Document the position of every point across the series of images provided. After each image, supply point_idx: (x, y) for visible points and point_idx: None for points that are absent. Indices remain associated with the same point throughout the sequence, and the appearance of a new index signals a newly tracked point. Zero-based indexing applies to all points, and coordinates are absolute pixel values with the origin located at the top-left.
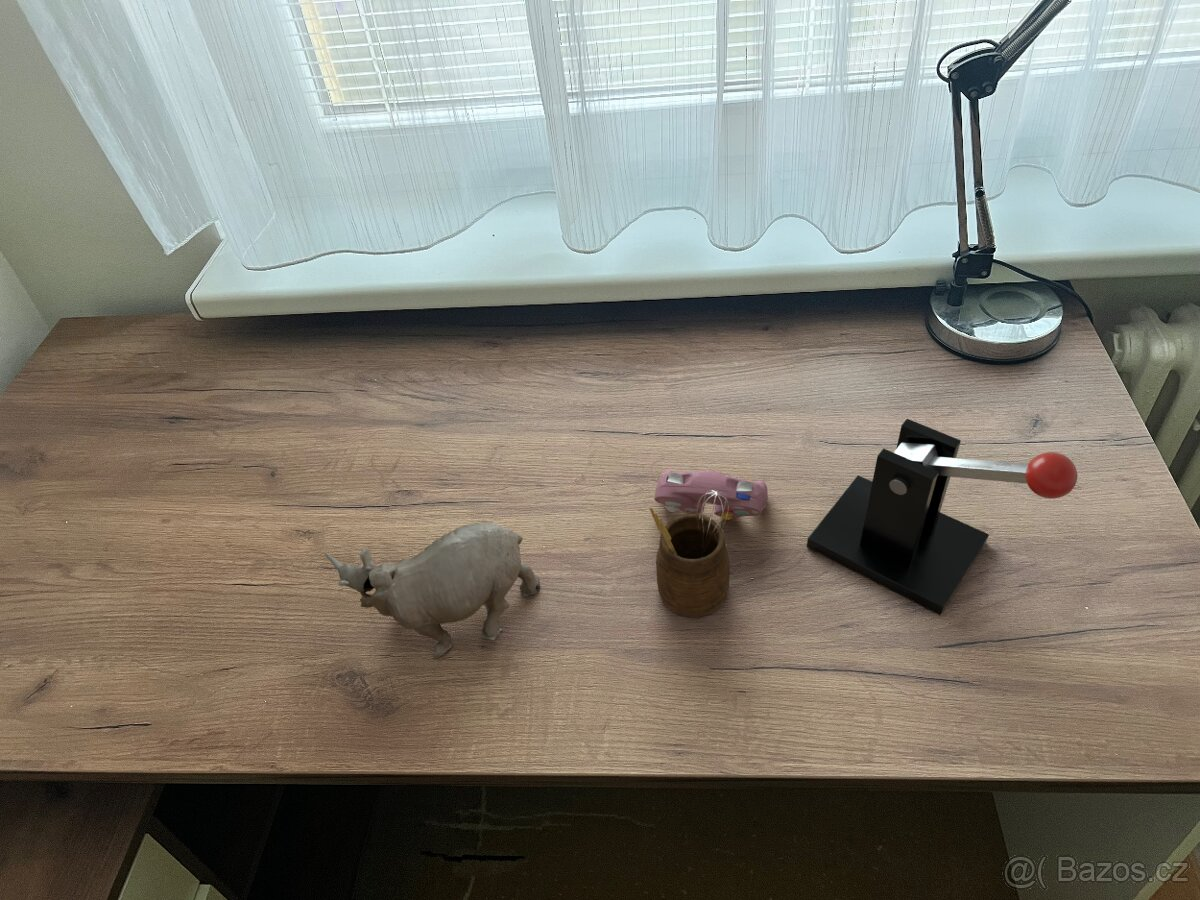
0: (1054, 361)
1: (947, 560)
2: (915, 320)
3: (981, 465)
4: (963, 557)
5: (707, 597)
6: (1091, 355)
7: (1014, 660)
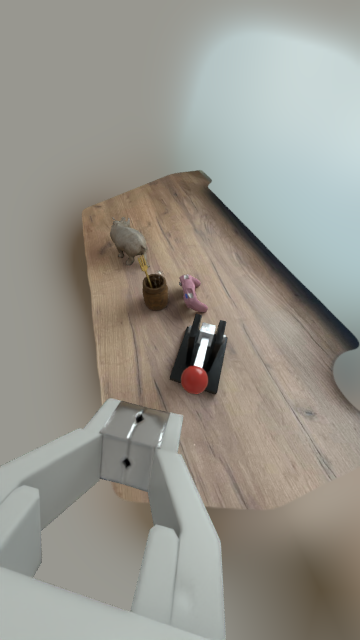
0: None
1: None
2: (346, 348)
3: (200, 351)
4: None
5: (145, 300)
6: None
7: None
